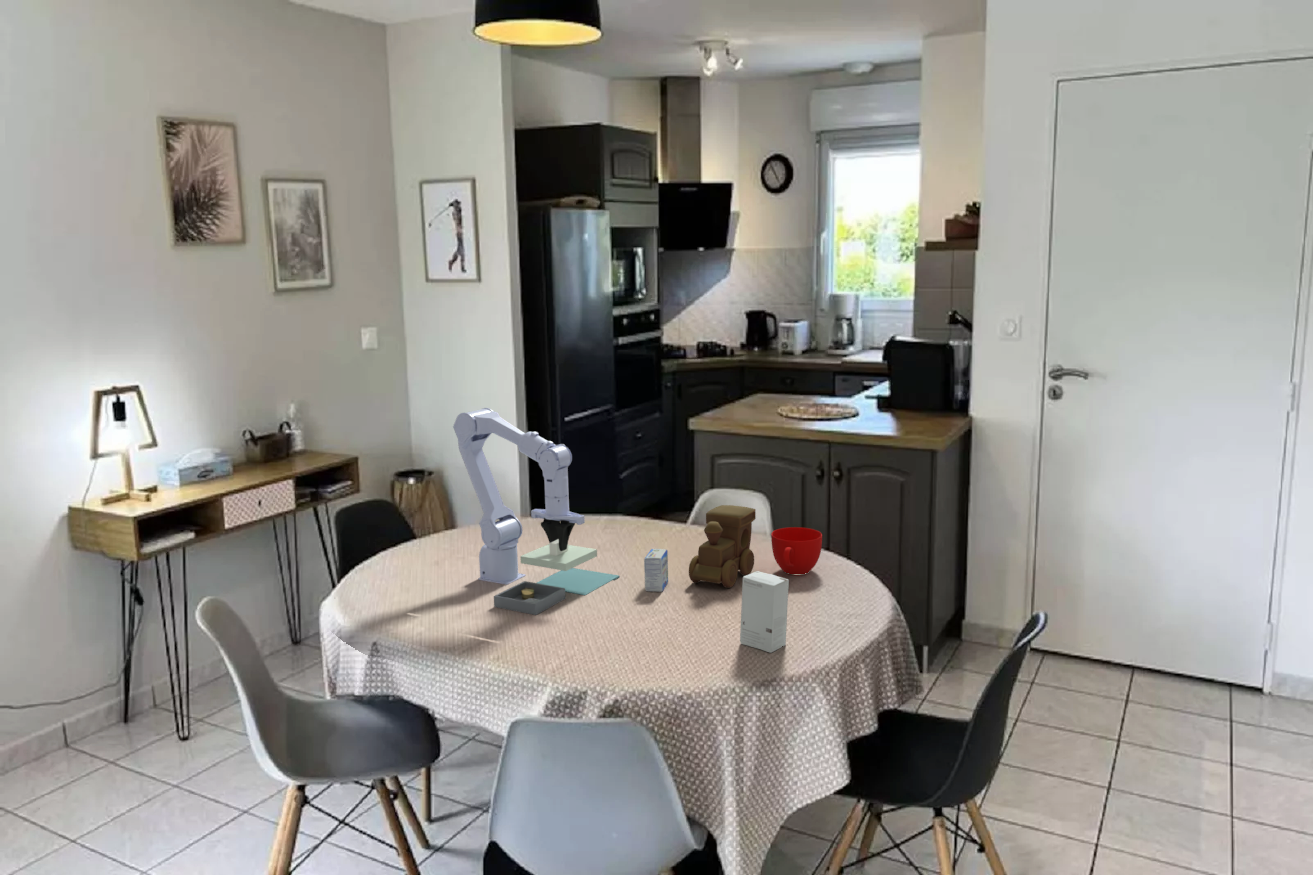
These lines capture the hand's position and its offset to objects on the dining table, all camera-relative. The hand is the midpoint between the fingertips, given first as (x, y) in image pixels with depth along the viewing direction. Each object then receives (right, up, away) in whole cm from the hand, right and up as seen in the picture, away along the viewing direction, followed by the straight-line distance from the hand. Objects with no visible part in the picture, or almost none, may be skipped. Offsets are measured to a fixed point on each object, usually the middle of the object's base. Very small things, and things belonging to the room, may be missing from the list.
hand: (558, 549), depth 238 cm
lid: (0, -2, 0) cm, 2 cm away
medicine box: (+24, -10, +3) cm, 26 cm away
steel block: (-5, -12, -11) cm, 17 cm away
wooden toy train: (+41, -9, +8) cm, 42 cm away
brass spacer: (-7, -11, -4) cm, 14 cm away
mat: (+4, -9, +7) cm, 12 cm away
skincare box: (+47, -16, -34) cm, 60 cm away
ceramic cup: (+59, -8, +10) cm, 61 cm away
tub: (-6, -12, -8) cm, 16 cm away
